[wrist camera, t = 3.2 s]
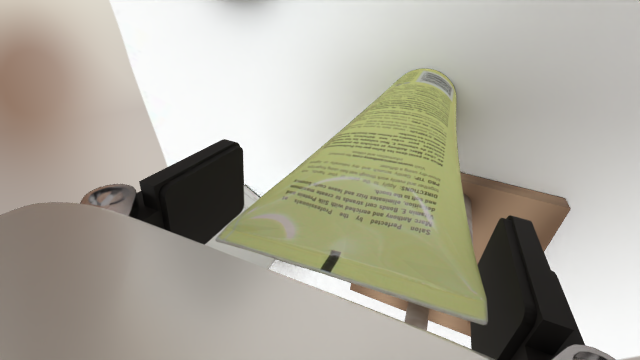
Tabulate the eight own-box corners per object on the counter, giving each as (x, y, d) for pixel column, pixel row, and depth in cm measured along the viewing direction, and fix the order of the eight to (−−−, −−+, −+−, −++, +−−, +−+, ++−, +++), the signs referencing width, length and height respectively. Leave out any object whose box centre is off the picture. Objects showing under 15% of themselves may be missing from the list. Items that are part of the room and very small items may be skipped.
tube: (406, 147, 26) (313, 360, 10) (370, 98, 25) (208, 241, 9) (471, 108, 23) (491, 327, 7) (432, 50, 22) (349, 142, 6)
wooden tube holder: (564, 198, 23) (602, 265, 17) (486, 330, 31) (491, 407, 25) (381, 152, 27) (356, 193, 21) (353, 279, 35) (330, 335, 29)
